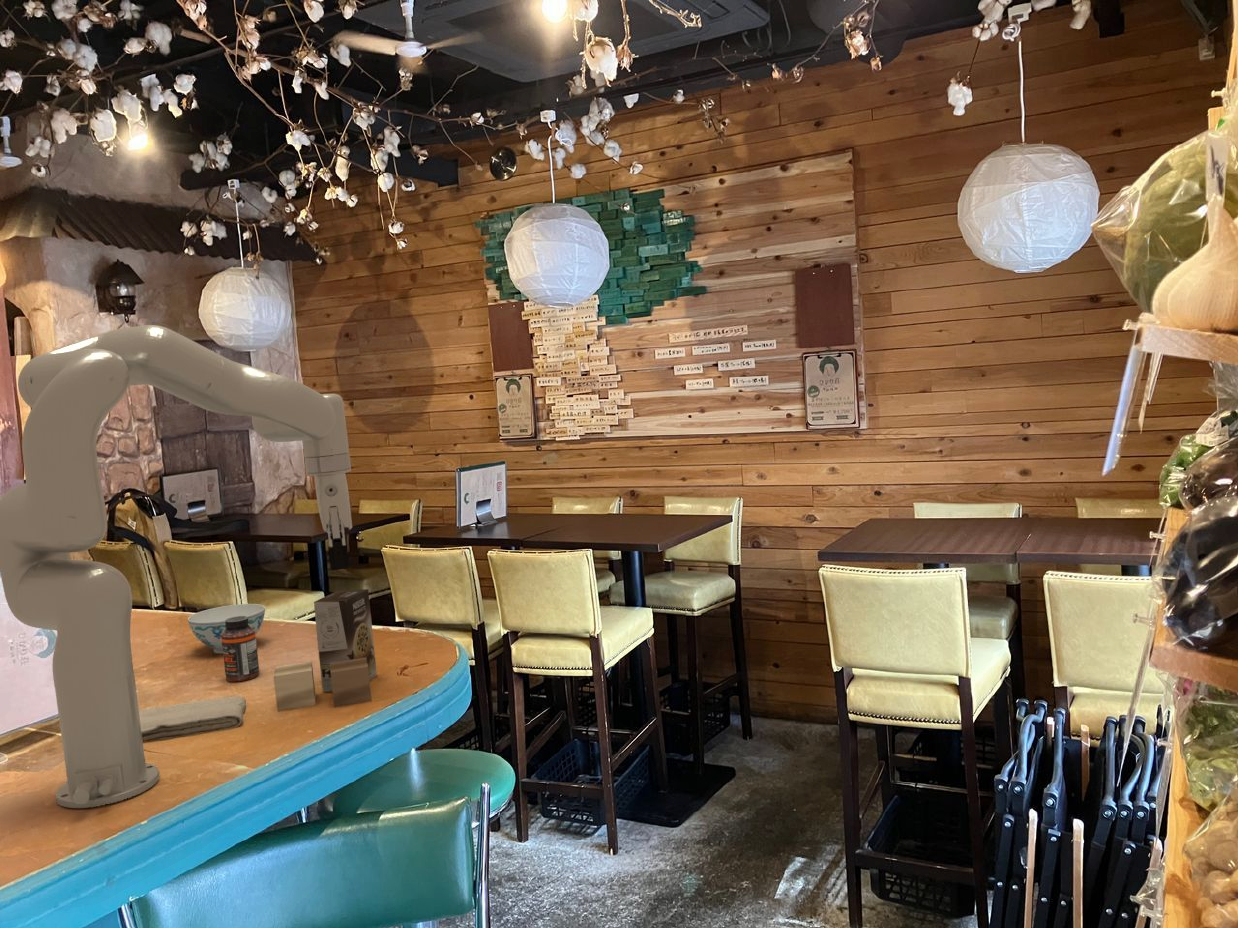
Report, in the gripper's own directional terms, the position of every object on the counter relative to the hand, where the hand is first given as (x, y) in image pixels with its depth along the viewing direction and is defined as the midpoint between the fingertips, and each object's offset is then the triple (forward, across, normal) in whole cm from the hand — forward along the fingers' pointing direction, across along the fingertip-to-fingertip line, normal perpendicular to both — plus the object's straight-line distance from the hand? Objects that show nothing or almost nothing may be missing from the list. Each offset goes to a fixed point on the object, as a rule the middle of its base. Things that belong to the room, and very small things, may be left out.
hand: (340, 568), depth 173 cm
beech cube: (+21, -6, +10) cm, 24 cm away
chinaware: (+21, +38, +24) cm, 50 cm away
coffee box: (+21, 0, 0) cm, 21 cm away
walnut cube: (+21, -10, 0) cm, 23 cm away
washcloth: (+21, -9, +26) cm, 35 cm away
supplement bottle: (+21, +14, +20) cm, 32 cm away
